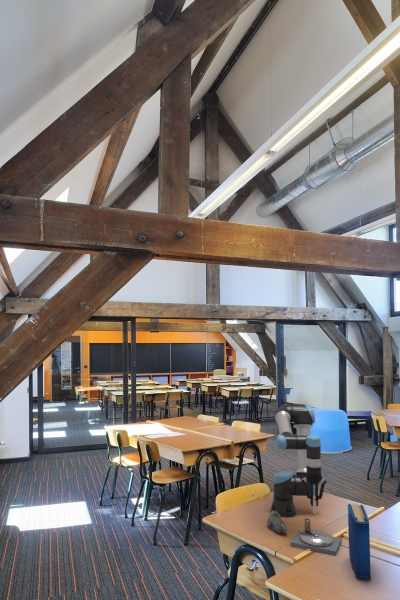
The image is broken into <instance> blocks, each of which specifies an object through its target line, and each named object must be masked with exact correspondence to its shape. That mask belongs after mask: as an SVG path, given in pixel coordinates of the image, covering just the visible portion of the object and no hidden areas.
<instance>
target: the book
mask: <svg viewBox="0 0 400 600" xmlns="http://www.w3.org/2000/svg"><path fill="white" fill-rule="evenodd" d="M347 523H348V525H347V526H348V527H347V528H348V556H349V560H350V565H351V567H352V568H351V569H352V571H353V572H354V576H355V577H356V578H357V579H360V580H371V579H372V578H371V577H372V574H371V543H370V541H371V540H370V521H369V516H368V514H367V511H366V509H365V507H364V505H362V504H360V505H359V504H356V503H353V504H351V503H348V504H347Z"/></svg>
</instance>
